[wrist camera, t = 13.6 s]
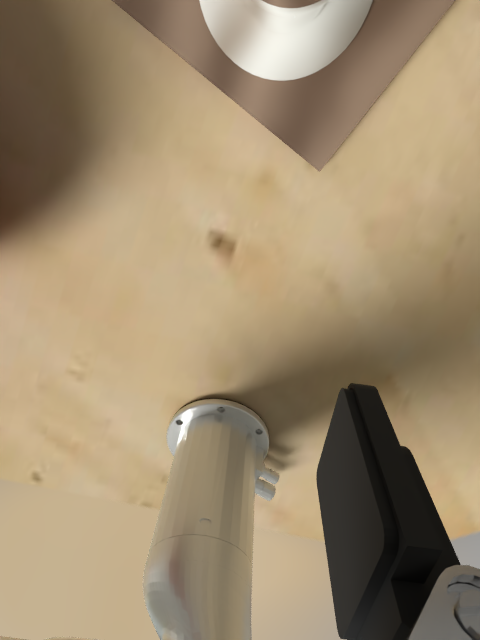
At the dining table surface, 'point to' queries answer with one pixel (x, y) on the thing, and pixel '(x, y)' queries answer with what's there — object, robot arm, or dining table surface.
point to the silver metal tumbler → (284, 13)
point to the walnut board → (296, 60)
